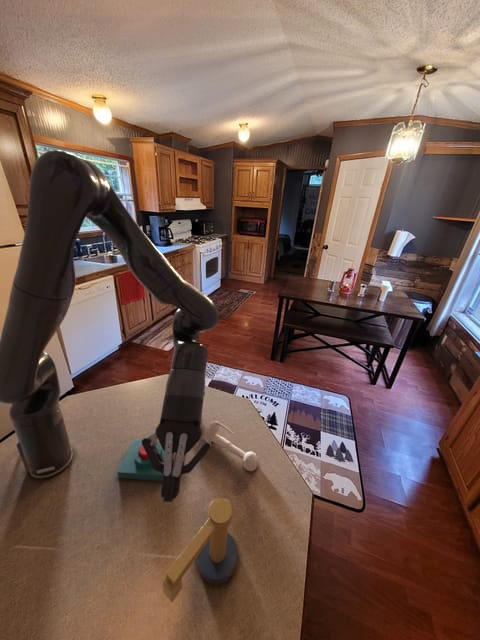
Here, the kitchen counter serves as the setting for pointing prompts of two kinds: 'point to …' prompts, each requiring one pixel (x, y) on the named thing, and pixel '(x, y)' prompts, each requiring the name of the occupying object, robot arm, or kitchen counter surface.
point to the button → (143, 453)
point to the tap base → (218, 558)
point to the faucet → (230, 445)
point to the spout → (197, 546)
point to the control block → (139, 464)
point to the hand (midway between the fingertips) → (169, 500)
